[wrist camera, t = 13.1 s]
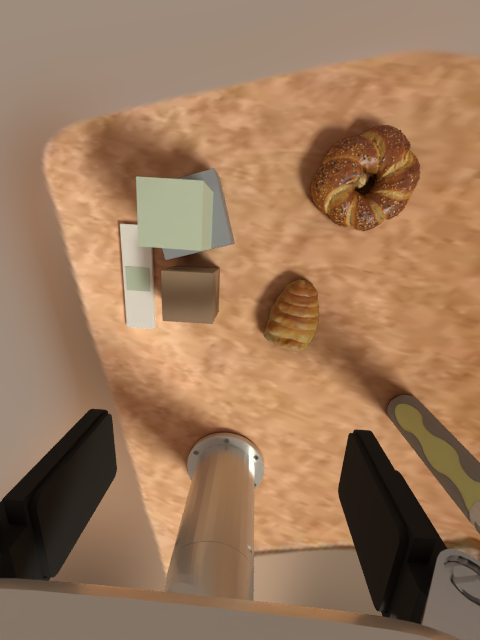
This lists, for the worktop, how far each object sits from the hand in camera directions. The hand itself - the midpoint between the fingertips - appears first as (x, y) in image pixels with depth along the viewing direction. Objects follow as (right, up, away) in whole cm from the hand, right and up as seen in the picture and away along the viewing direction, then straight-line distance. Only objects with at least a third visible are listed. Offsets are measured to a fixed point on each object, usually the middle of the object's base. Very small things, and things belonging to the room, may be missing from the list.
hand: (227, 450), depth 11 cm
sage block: (-6, +16, +20) cm, 27 cm away
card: (-13, +11, +27) cm, 32 cm away
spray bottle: (+25, -8, +31) cm, 40 cm away
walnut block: (-5, +9, +27) cm, 29 cm away
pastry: (+8, +6, +28) cm, 30 cm away
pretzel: (+15, +22, +23) cm, 35 cm away
